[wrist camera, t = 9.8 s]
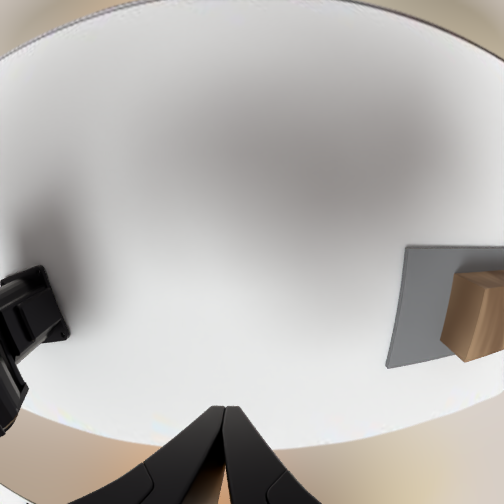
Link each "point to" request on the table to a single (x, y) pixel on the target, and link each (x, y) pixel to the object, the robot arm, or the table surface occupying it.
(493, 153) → the table surface
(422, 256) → the felt mat
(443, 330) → the walnut block
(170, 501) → the robot arm
